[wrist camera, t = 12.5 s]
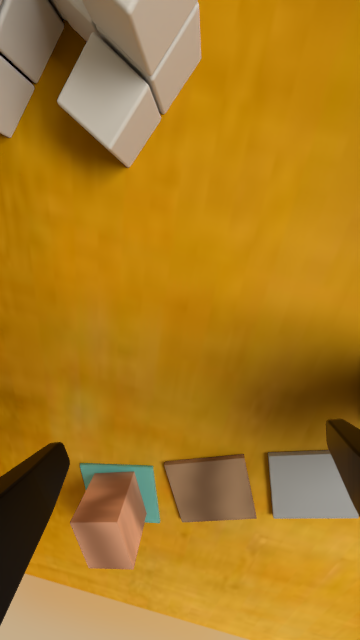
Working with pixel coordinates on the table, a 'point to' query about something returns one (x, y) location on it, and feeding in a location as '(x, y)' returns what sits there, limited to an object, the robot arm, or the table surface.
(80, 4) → the puzzle cube
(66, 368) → the table surface
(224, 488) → the walnut coaster
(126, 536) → the terracotta brick
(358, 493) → the robot arm
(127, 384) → the table surface
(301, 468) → the slate coaster
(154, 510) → the teal tile
